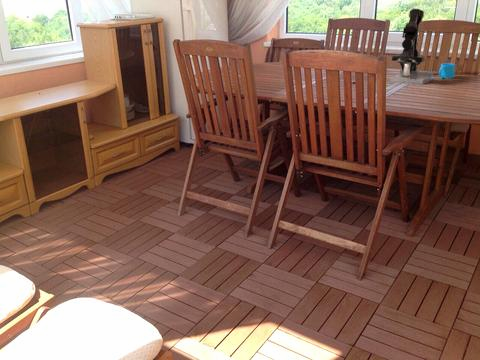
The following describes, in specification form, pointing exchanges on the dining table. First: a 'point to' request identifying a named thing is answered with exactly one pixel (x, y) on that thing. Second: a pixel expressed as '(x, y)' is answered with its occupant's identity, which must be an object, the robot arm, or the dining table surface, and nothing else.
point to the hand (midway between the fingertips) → (407, 72)
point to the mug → (447, 70)
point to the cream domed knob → (407, 69)
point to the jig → (413, 77)
